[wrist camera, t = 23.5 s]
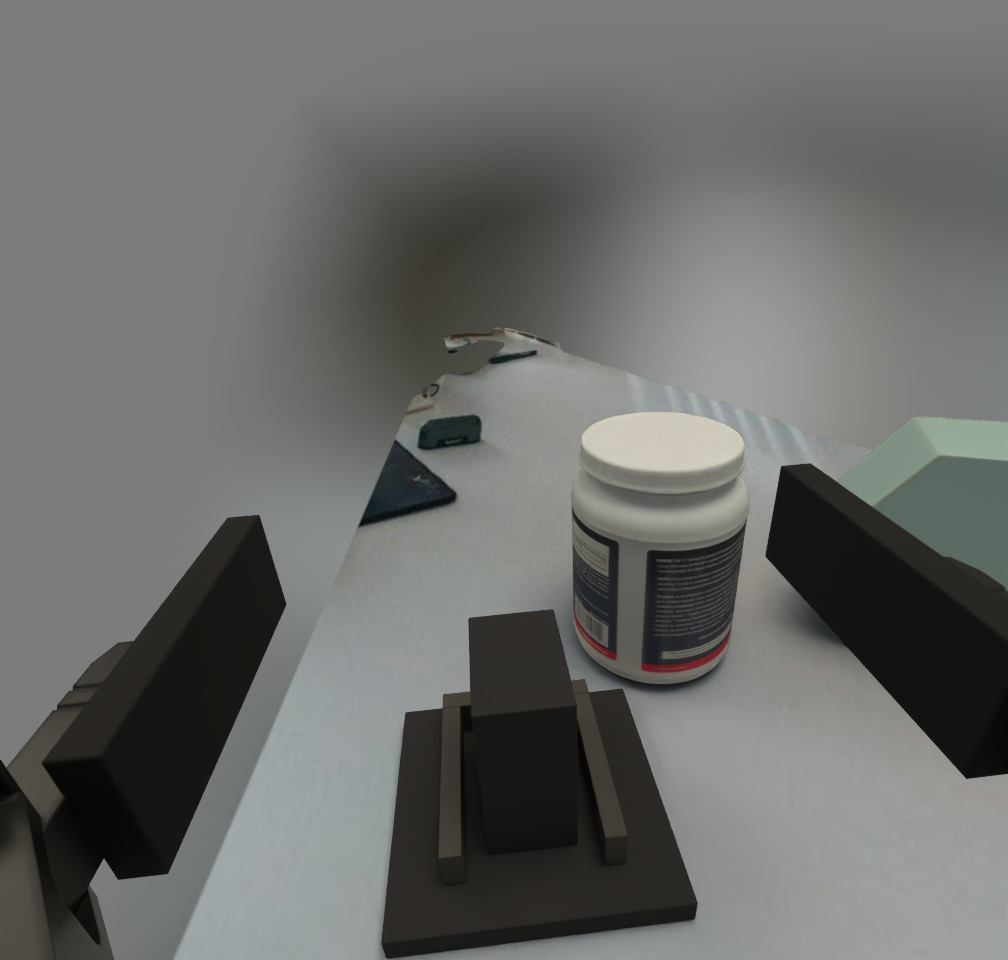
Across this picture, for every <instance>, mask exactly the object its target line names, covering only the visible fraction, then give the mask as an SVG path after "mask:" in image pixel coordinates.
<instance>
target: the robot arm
mask: <svg viewBox="0 0 1008 960" xmlns="http://www.w3.org/2000/svg"><path fill="white" fill-rule="evenodd" d="M765 557H766V558H767V559H768V560H769V561H770V562H771V563H772V564H773V565H774V566H775V568H776V569H777V570H778V571H779V572H780V573H781V574H782V575H783V576H784V578H785V579H786V580H787V581H788V582H789V583H790V584H791V585H792V586H793V587H794V589H795V590H796V591H797V592H798V593H799V594H800V595H801V596H802V597H803V599H804V600H805V601H806V602H807V603H808V604H809V605H810V606H811V607H812V609H813V610H814V611H815V612H816V613H817V614H818V615H819V616H820V617H821V618H822V620H823V621H824V622H825V623H826V624H827V625H828V626H829V627H830V628H831V630H832V631H833V632H834V633H835V634H836V635H837V636H838V637H839V638H840V639H841V641H842V642H843V643H844V644H845V645H846V646H847V647H848V648H849V649H850V651H851V652H852V653H853V654H854V655H855V656H856V657H857V658H858V659H859V660H860V662H861V663H862V664H863V665H864V666H865V667H866V668H867V669H868V670H869V672H870V673H871V674H872V675H873V676H874V677H875V678H876V679H877V680H878V682H879V683H880V684H881V685H882V686H883V687H884V688H885V689H886V690H887V691H888V693H889V694H890V695H891V696H892V697H893V698H894V699H895V700H896V701H897V703H898V704H899V705H900V706H901V707H902V708H903V709H904V710H905V711H906V712H907V714H908V715H909V716H910V717H911V718H912V719H913V720H914V721H915V722H916V724H917V725H918V726H919V727H920V728H921V729H922V730H923V731H924V732H925V733H926V735H927V736H928V737H929V738H930V739H931V740H932V741H933V742H934V743H935V745H936V746H937V747H938V748H939V749H940V750H941V751H942V752H943V753H944V754H945V756H946V757H947V758H948V759H949V760H950V761H951V762H952V763H953V764H954V766H955V767H956V768H957V769H958V770H959V771H960V772H961V773H962V774H963V776H964V777H965V778H966V779H968V778H977V777H985V776H994V775H1002V774H1008V591H1006V589H1005V586H1003V585H1002V584H1000V583H999V582H997V581H996V580H994V579H993V578H991V577H990V576H988V575H987V574H985V573H984V572H982V571H981V570H979V569H977V568H974V567H972V566H970V565H967V564H965V563H963V562H961V561H958V560H956V559H954V558H951V557H943V556H942V555H940V554H939V553H937V552H936V551H935V550H933V549H932V548H930V547H929V546H927V545H926V544H925V543H923V542H922V541H920V540H919V539H917V538H916V537H915V536H913V535H912V534H910V533H909V532H907V531H906V530H905V529H903V528H902V527H900V526H899V525H897V524H896V523H895V522H893V521H892V520H890V519H889V518H888V517H886V516H885V515H883V514H882V513H880V512H879V511H878V510H876V509H875V508H873V507H872V506H870V505H869V504H868V503H866V502H865V501H863V500H862V499H860V498H859V497H858V496H856V495H855V494H853V493H852V492H850V491H849V490H848V489H846V488H845V487H843V486H842V485H840V484H839V483H838V482H836V481H835V480H833V479H832V478H830V477H829V476H828V475H826V474H825V473H823V472H822V471H821V470H819V469H818V468H816V467H815V466H813V465H812V464H811V463H810V464H799V465H789V466H781V470H780V476H779V482H778V488H777V493H776V499H775V505H774V510H773V516H772V522H771V527H770V533H769V539H768V544H767V550H766V556H765ZM285 606H286V601H285V599H284V595H283V592H282V588H281V585H280V582H279V578H278V575H277V572H276V569H275V565H274V562H273V559H272V555H271V552H270V549H269V545H268V542H267V539H266V535H265V532H264V529H263V526H262V522H261V519H260V516H259V515H254V516H243V517H232V518H227V519H226V521H225V522H224V523H223V525H222V526H221V527H220V529H219V530H218V531H217V532H216V534H215V535H214V536H213V538H212V539H211V540H210V542H209V543H208V544H207V546H206V547H205V548H204V550H203V551H202V552H201V553H200V555H199V556H198V557H197V559H196V560H195V561H194V563H193V564H192V565H191V567H190V568H189V569H188V571H187V572H186V573H185V575H184V576H183V577H182V578H181V580H180V581H179V582H178V584H177V585H176V586H175V588H174V589H173V591H172V592H171V593H170V595H169V596H168V597H167V598H166V600H165V601H164V602H163V604H162V605H161V606H160V607H159V609H158V610H157V611H156V613H155V614H154V615H153V617H152V618H151V619H150V621H149V622H148V623H147V625H146V626H145V627H144V628H143V630H142V631H141V633H140V634H139V635H138V636H137V638H136V639H135V640H134V641H130V642H122V643H117V644H116V645H115V646H114V647H112V648H111V649H110V650H108V651H107V652H106V653H105V654H103V655H102V656H100V658H98V659H97V660H95V661H94V662H93V663H92V664H91V665H90V666H89V667H88V668H87V670H86V671H85V672H84V673H83V674H82V676H81V677H80V678H79V679H78V681H77V682H76V683H75V684H74V685H73V690H72V691H69V692H68V693H67V694H66V695H65V697H64V698H63V699H62V700H61V701H60V703H59V704H58V705H57V710H54V711H52V713H51V714H50V715H49V716H48V717H47V719H46V720H45V721H44V722H43V723H42V725H41V726H40V727H39V728H38V730H37V731H36V732H35V733H34V734H33V736H32V737H31V738H30V739H29V741H28V742H27V743H26V744H25V745H24V747H23V748H22V749H21V750H20V752H19V753H18V754H17V755H16V757H15V758H14V759H13V760H12V762H11V763H10V764H9V765H8V766H7V767H5V765H4V764H3V763H2V761H1V760H0V960H114V958H113V954H112V950H111V946H110V943H109V939H108V935H107V932H106V928H105V924H104V921H103V917H102V913H101V909H100V906H99V902H98V898H97V896H96V894H95V893H94V891H93V890H92V889H91V887H90V886H89V884H90V882H91V880H92V878H93V877H94V875H95V873H96V871H97V869H98V868H99V866H100V864H101V862H102V860H103V859H105V860H106V862H107V863H108V865H109V866H110V868H111V869H112V871H113V872H114V874H115V876H116V877H117V879H118V880H121V879H128V878H137V877H146V876H154V875H163V874H168V873H169V870H170V868H171V866H172V864H173V861H174V859H175V857H176V854H177V852H178V850H179V848H180V845H181V843H182V841H183V838H184V836H185V834H186V832H187V829H188V827H189V825H190V823H191V820H192V818H193V816H194V813H195V811H196V809H197V806H198V804H199V802H200V800H201V798H202V795H203V793H204V791H205V788H206V786H207V784H208V782H209V779H210V777H211V775H212V773H213V770H214V768H215V766H216V763H217V761H218V759H219V757H220V754H221V752H222V750H223V747H224V745H225V743H226V741H227V738H228V736H229V733H230V732H231V729H232V727H233V725H234V722H235V720H236V718H237V716H238V713H239V711H240V709H241V707H242V704H243V702H244V700H245V697H246V695H247V693H248V691H249V688H250V686H251V684H252V682H253V679H254V677H255V675H256V672H257V670H258V668H259V665H260V663H261V661H262V659H263V656H264V654H265V652H266V650H267V647H268V645H269V643H270V641H271V638H272V636H273V634H274V631H275V629H276V627H277V624H278V622H279V620H280V618H281V616H282V613H283V611H284V609H285Z"/></svg>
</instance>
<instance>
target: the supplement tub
mask: <svg viewBox="0 0 1008 960" xmlns="http://www.w3.org/2000/svg"><path fill="white" fill-rule="evenodd" d="M744 451H745V443H744V440H743V438H742V437H741V436H740V435H739V434H738V433H737V432H736V431H735V430H734V429H732V428H730V427H729V426H727V425H725V424H722V423H720V422H717V421H715V420H711V419H708V418H704V417H700V416H695V415H689V414H682V413H671V412H642V413H631V414H625V415H619V416H615V417H611V418H607V419H604V420H602V421H599V422H597V423H595V424H593V425H592V426H590V427H589V428H588V429H587V430H586V431H585V432H584V433H583V435H582V437H581V450H580V453H579V462H580V465H581V467H582V469H581V470H580V471H579V473H578V474H577V476H576V478H575V480H574V483H573V487H572V492H571V501H572V538H573V596H574V618H573V620H574V627H575V630H576V633H577V636H578V639H579V641H580V643H581V644H582V646H583V648H584V649H585V650H586V652H587V653H588V654H589V655H590V656H591V657H592V658H593V659H594V660H595V661H596V662H598V663H599V664H600V665H601V666H603V667H605V668H606V669H608V670H609V671H611V672H613V673H615V674H617V675H620V676H622V677H625V678H628V679H631V680H634V681H638V682H643V683H651V684H673V683H681V682H685V681H689V680H692V679H695V678H697V677H699V676H702V675H704V674H705V673H707V672H708V671H710V670H711V669H712V668H714V667H715V666H716V665H717V664H718V663H719V661H720V660H721V659H722V657H723V656H724V654H725V652H726V650H727V649H728V646H729V643H730V637H731V626H732V619H733V612H734V604H735V597H736V591H737V583H738V576H739V569H740V562H741V555H742V548H743V541H744V534H745V528H746V521H747V515H748V513H749V495H748V490H747V488H746V485H745V483H744V481H743V480H742V478H741V477H740V474H741V473H742V471H743V469H744V466H745V459H744Z"/></svg>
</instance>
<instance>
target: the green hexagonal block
mask: <svg viewBox="0 0 1008 960" xmlns="http://www.w3.org/2000/svg"><path fill="white" fill-rule="evenodd" d="M837 482H838V483H839V484H840V485H842V486H843V487H845V488H846V489H848V490H849V491H850V492H852V493H853V494H855V495H856V496H858V497H859V498H860V499H862V500H863V501H865V502H866V503H868V504H869V505H870V506H872V507H873V508H875V509H876V510H878V511H879V512H880V513H882V514H883V515H885V516H886V517H888V518H889V519H890V520H892V521H893V522H895V523H896V524H897V525H899V526H900V527H902V528H903V529H905V530H906V531H907V532H909V533H910V534H912V535H913V536H915V537H916V538H917V539H919V540H920V541H922V542H923V543H925V544H926V545H927V546H929V547H930V548H932V549H933V550H935V551H936V552H937V553H939V554H940V555H942V556H943V557H951V558H954V559H956V560H958V561H961V562H963V563H965V564H967V565H970V566H972V567H974V568H977V569H979V570H981V571H982V572H984V573H985V574H987V575H988V576H990V577H991V578H993V579H994V580H996V581H997V582H999V583H1000V584H1002V585H1003V586H1005V589H1006V591H1008V422H1001V421H984V420H969V419H954V418H938V417H922V416H915V417H913V418H912V419H910V420H909V421H908V422H907V423H905V424H904V425H903V426H902V427H901V428H899V429H898V430H897V431H896V432H895V433H894V434H892V435H891V436H890V437H889V438H888V439H887V440H886V441H884V442H883V443H882V444H881V445H879V446H878V447H877V448H876V449H875V450H873V451H872V452H871V453H870V454H869V455H867V456H866V457H865V458H864V459H863V460H862V461H860V462H859V463H858V464H857V465H856V466H854V467H853V468H852V469H851V470H850V471H849V472H847V473H846V474H845V475H844V476H843V477H841V478H840V479H839V480H838V481H837Z"/></svg>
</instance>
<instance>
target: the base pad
mask: <svg viewBox="0 0 1008 960" xmlns="http://www.w3.org/2000/svg"><path fill="white" fill-rule="evenodd" d="M571 683H572V687H573V691H574V695H575V699H576V703H577V782H578V845H572V846H563V847H555V848H547V849H538V850H530V851H522V852H514V853H505V854H497V855H489V850H488V842H487V834H486V827H485V819H484V811H483V804H482V796H481V788H480V780H479V773H478V765H477V757H476V750H475V742H474V734H473V726H472V719H471V692H462V693H452V694H444V695H443V708H442V709H433V710H424V711H415V712H406V713H405V722H404V731H403V741H402V750H401V760H400V769H399V779H398V789H397V798H396V808H395V817H394V827H393V837H392V846H391V856H390V865H389V875H388V884H387V894H386V904H385V913H384V923H383V932H382V942H381V943H382V946H383V949H384V952H385V956H386V958H392V957H399V956H407V955H415V954H423V953H431V952H439V951H447V950H454V949H462V948H470V947H478V946H486V945H494V944H502V943H509V942H517V941H525V940H533V939H541V938H549V937H556V936H564V935H572V934H580V933H588V932H596V931H604V930H611V929H619V928H627V927H635V926H643V925H651V924H659V923H666V922H674V921H682V920H690V919H695V916H696V910H697V900H696V897H695V894H694V891H693V888H692V886H691V883H690V880H689V877H688V874H687V871H686V868H685V866H684V863H683V860H682V857H681V854H680V851H679V848H678V846H677V843H676V840H675V837H674V834H673V831H672V828H671V826H670V823H669V820H668V817H667V814H666V811H665V808H664V805H663V803H662V800H661V797H660V794H659V791H658V788H657V785H656V783H655V780H654V777H653V774H652V771H651V768H650V765H649V763H648V760H647V757H646V754H645V751H644V748H643V745H642V743H641V740H640V737H639V734H638V731H637V728H636V725H635V723H634V720H633V717H632V714H631V711H630V708H629V705H628V703H627V700H626V697H625V694H624V691H623V689H616V690H607V691H598V692H589V693H588V689H587V685H586V682H585V679H582V680H573V681H571Z"/></svg>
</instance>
